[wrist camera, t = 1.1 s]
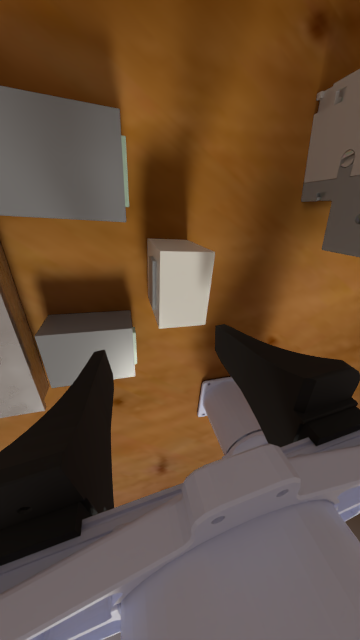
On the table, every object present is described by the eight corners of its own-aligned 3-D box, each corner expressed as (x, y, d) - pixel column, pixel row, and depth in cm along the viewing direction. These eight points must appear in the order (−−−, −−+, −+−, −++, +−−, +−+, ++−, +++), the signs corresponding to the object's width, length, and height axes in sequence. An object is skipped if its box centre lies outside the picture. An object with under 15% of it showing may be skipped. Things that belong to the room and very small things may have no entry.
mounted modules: (123, 132, 15) (124, 110, 12) (135, 353, 25) (138, 375, 22) (-9, 110, 13) (-53, 75, 10) (61, 361, 23) (51, 388, 20)
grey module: (186, 239, 20) (215, 252, 14) (182, 295, 23) (205, 324, 17) (144, 238, 19) (155, 251, 13) (145, 296, 22) (155, 328, 16)
